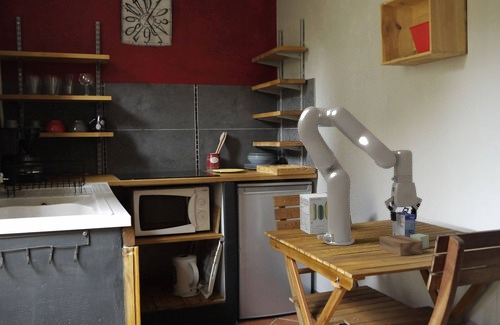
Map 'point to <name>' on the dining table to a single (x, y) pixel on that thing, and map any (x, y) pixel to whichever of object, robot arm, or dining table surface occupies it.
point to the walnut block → (401, 245)
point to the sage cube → (422, 239)
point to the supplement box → (314, 213)
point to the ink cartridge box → (404, 223)
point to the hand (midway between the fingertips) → (403, 219)
